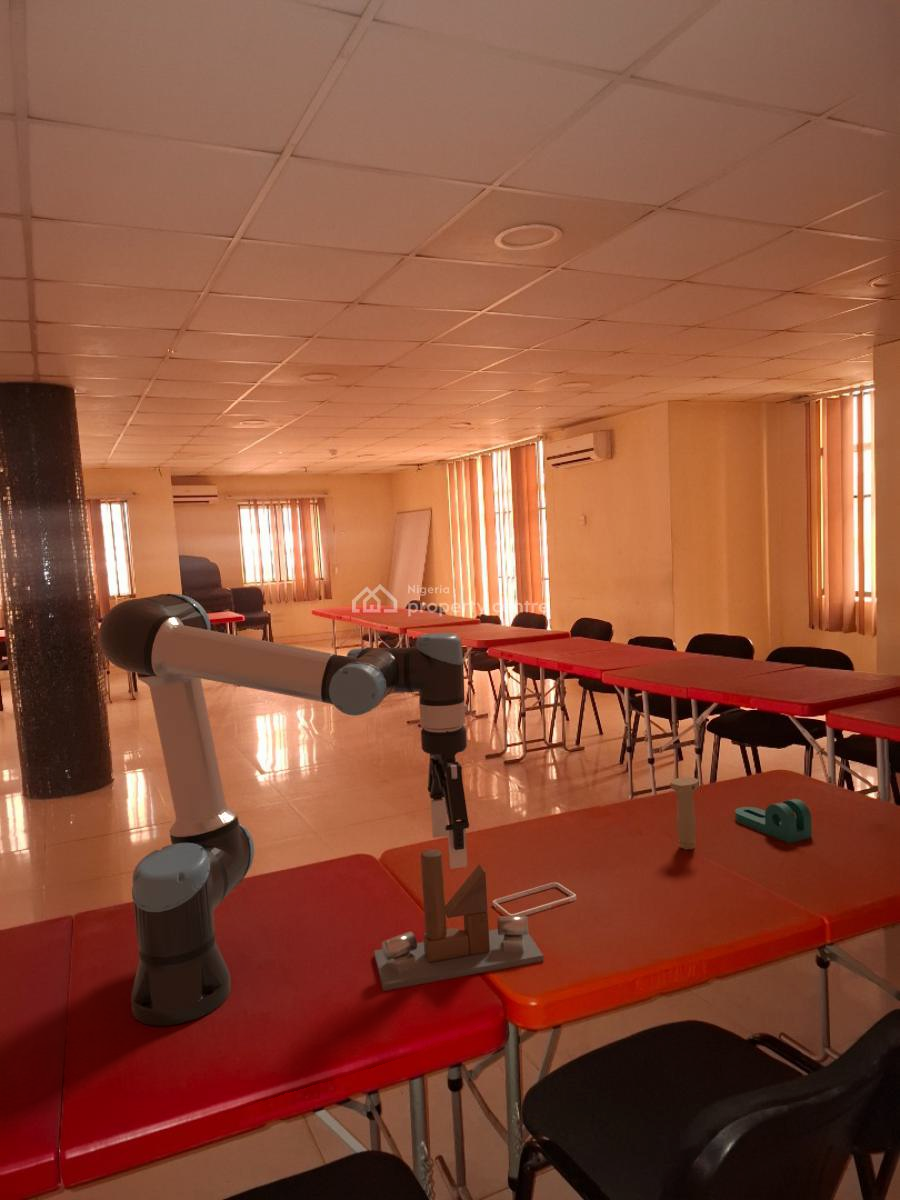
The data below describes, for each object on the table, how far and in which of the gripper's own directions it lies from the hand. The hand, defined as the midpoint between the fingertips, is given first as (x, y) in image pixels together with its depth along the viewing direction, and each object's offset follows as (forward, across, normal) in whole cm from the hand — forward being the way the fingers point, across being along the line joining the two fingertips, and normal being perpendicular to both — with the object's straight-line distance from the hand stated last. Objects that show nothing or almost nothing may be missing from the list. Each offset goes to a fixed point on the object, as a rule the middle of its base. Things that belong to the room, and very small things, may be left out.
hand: (448, 850), depth 132 cm
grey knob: (+19, -1, -10) cm, 21 cm away
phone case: (+19, +15, -20) cm, 31 cm away
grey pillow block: (+19, -1, +9) cm, 21 cm away
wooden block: (+18, 0, -1) cm, 18 cm away
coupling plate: (+19, 0, -1) cm, 19 cm away
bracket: (+18, +31, -82) cm, 90 cm away
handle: (+18, +28, -60) cm, 68 cm away
